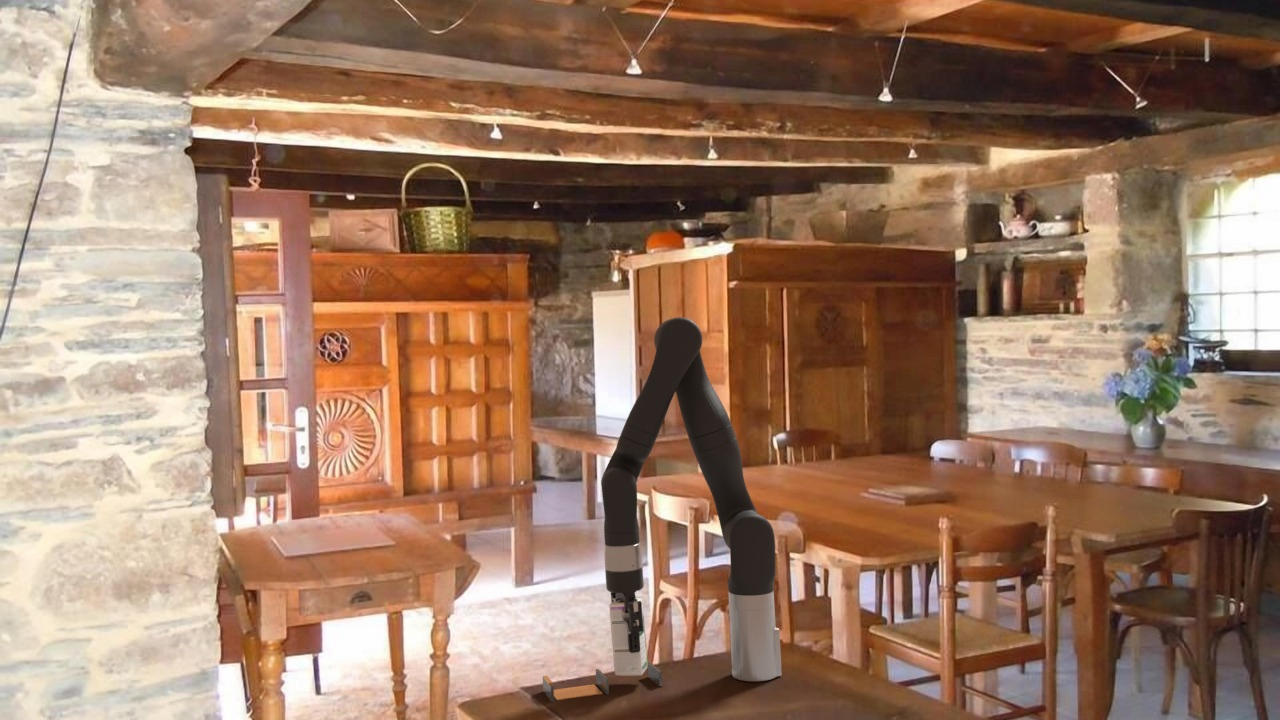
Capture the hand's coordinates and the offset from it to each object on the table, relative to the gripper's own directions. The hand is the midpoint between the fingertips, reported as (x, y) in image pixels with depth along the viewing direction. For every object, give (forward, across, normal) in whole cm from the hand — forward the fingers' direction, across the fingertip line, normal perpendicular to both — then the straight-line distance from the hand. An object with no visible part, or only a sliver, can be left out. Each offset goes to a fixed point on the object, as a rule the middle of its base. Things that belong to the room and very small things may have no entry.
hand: (628, 647), depth 216 cm
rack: (+7, 0, +6) cm, 10 cm away
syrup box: (+5, 0, 0) cm, 5 cm away
